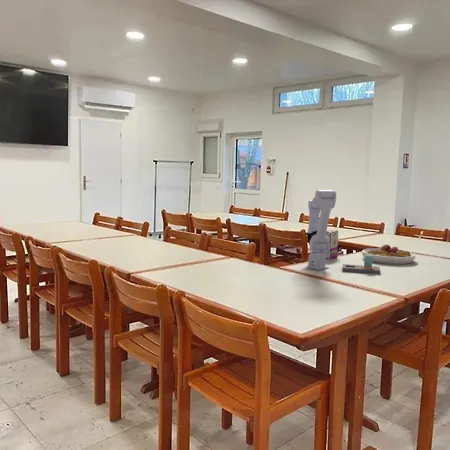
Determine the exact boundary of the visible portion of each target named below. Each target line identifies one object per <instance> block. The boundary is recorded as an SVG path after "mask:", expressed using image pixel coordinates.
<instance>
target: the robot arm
mask: <svg viewBox="0 0 450 450" xmlns="http://www.w3.org/2000/svg"><path fill="white" fill-rule="evenodd" d="M336 203H337V192H336V190H335V189H316V191H315V192H314V197H313V198H312V199H309V200H308V204H307V205H308V212H309V213H308V214H309V215H308V228H307V232H305V235H306V238H307V241H308V245H309V250H310V251H311V253H309V255H308V259H307V266H306V268H308V269H313V270H316V271H319V270H320V271H321V270H324V269H328V268H329V266H327V265H326V261H327V260H326V252H327V251H328V250H329V246H330V240H329V237H328V236H326V231H328V225H329V220H330V215H331V211H332V209H334V208H335V206H336Z"/></svg>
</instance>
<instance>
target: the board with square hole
mask: <svg viewBox="0 0 450 450" xmlns="http://www.w3.org/2000/svg"><path fill="white" fill-rule="evenodd" d="M361 266H364V264H362V265H361V264H349V263H348V264H346V263H343V264H342V268H341V272H345V273H346V272H347V273H355V274H356V273H358V274H371V275H372V274H373V275H381V267H380V266H373V265H372V267H375V269H364V268H361Z"/></svg>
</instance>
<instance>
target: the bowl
mask: <svg viewBox="0 0 450 450" xmlns="http://www.w3.org/2000/svg"><path fill="white" fill-rule="evenodd" d="M361 253H362V256H363V258H365V255H370V256H373V257H372V263H376V264H385V265H409V264H410V263H413V262H414V260H415V259H416V253H414V252H413V251H409V250H408V251H407V250H403V249H399V248H398V247H397V246H393V247H391V245H389V244H384V245H383V244H382V246H381V247H380V248H379V247H377V248H365V249H363V250H362V251H361Z"/></svg>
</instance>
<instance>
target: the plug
mask: <svg viewBox="0 0 450 450" xmlns="http://www.w3.org/2000/svg"><path fill="white" fill-rule="evenodd" d="M372 257H373V256H370V255H365V258H364V257H363V258H364V259H363V261H364V262H363V266H364V267H365V268H372V266H373V262H372Z"/></svg>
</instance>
